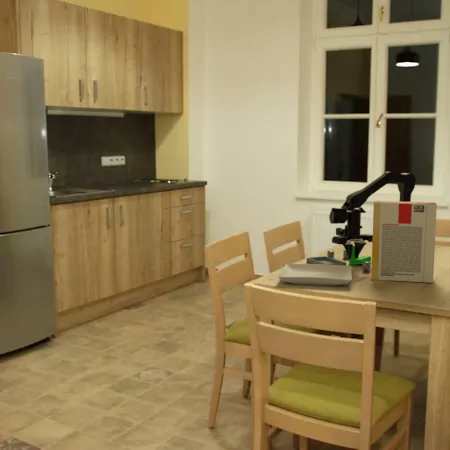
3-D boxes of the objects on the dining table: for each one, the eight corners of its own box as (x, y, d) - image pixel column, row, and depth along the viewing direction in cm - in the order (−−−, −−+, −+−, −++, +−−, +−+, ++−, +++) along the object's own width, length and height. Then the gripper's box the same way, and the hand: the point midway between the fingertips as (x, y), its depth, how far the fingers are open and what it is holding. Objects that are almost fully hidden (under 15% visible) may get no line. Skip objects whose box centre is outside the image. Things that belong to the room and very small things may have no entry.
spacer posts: (358, 256, 285) (358, 248, 285) (402, 269, 257) (403, 259, 257) (324, 259, 278) (324, 251, 277) (365, 272, 250) (366, 263, 249)
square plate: (351, 273, 249) (352, 264, 248) (351, 289, 222) (352, 278, 222) (285, 271, 254) (286, 261, 254) (278, 285, 228) (278, 275, 227)
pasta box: (431, 278, 239) (435, 202, 235) (433, 282, 231) (436, 204, 228) (371, 275, 245) (374, 200, 241) (371, 279, 237) (373, 202, 233)
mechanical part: (361, 264, 263) (359, 245, 263) (349, 264, 267) (346, 246, 266) (373, 260, 272) (371, 242, 272) (361, 260, 276) (358, 243, 276)
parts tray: (325, 260, 276) (325, 256, 275) (346, 266, 261) (346, 262, 261) (306, 262, 272) (306, 257, 271) (326, 268, 257) (326, 264, 257)
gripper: (360, 220, 274) (359, 254, 276) (325, 222, 267) (324, 257, 269) (375, 222, 264) (374, 258, 266) (339, 225, 257) (338, 261, 259)
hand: (352, 258), depth 265 cm, fingers open, 3 cm apart
